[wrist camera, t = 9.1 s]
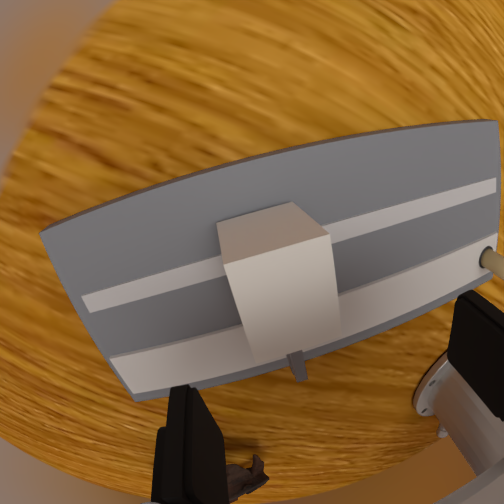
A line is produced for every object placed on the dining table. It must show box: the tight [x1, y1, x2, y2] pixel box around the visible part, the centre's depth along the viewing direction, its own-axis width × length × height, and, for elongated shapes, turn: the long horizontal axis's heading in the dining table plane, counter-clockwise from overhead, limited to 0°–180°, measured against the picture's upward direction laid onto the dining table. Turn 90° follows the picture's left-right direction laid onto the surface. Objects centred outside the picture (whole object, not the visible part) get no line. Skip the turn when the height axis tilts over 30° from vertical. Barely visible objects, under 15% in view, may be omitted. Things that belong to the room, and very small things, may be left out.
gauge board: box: [39, 119, 504, 402], centre depth 17 cm, size 14×32×6 cm, turn 104°
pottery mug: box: [226, 454, 269, 504], centre depth 24 cm, size 12×10×8 cm
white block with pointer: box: [216, 202, 342, 382], centre depth 15 cm, size 9×4×5 cm, turn 14°
